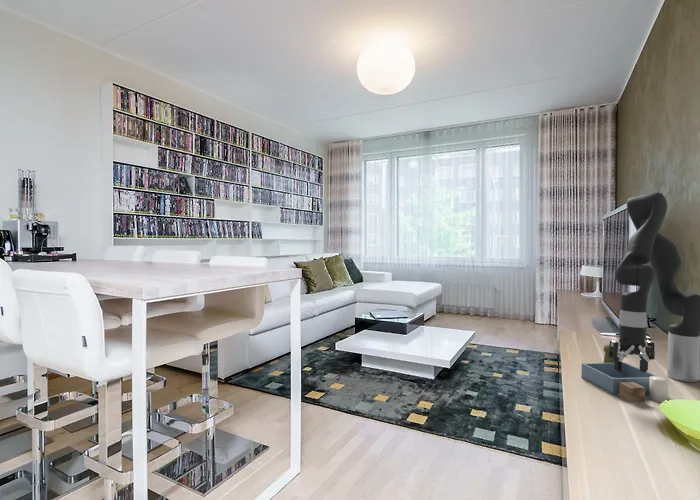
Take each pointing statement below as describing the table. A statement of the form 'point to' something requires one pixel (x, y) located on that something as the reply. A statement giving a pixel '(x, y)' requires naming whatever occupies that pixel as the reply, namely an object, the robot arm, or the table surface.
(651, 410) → the table surface
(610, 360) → the cork
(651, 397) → the ceramic canister
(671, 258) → the robot arm
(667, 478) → the table surface
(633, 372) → the tote
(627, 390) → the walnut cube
